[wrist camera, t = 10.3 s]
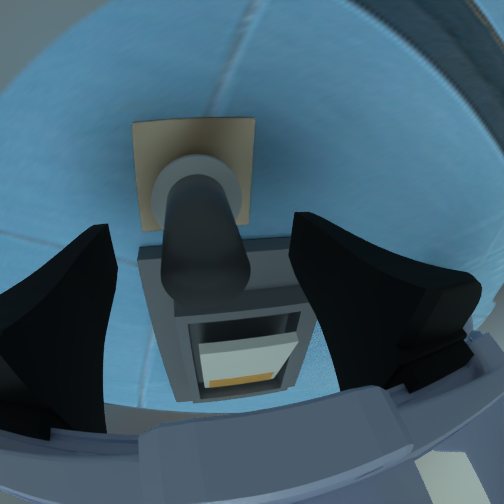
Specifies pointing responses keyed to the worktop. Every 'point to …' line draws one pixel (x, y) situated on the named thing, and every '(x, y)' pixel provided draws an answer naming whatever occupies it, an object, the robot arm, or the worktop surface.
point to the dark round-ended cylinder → (200, 231)
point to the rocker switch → (245, 359)
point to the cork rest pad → (192, 142)
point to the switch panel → (229, 321)
